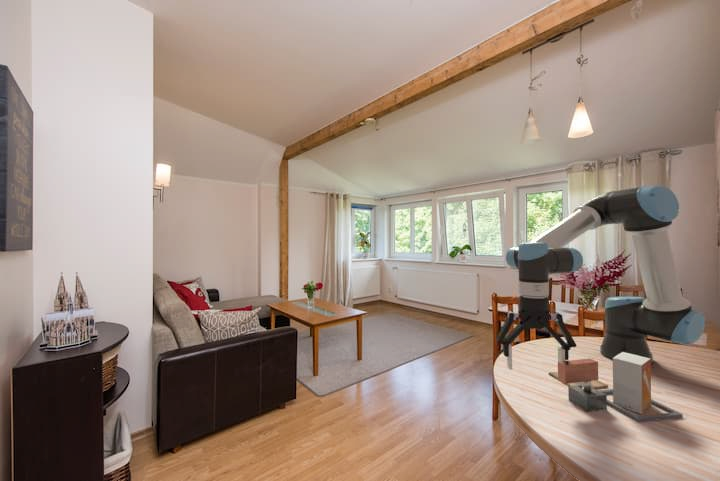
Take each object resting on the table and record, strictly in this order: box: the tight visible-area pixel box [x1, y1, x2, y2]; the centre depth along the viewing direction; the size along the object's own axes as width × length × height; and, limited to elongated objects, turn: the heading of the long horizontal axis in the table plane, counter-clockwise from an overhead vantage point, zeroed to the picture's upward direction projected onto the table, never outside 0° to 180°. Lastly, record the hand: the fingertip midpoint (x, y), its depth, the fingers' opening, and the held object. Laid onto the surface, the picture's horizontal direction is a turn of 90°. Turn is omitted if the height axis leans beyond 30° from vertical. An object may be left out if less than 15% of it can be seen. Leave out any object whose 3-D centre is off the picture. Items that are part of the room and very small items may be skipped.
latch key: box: [557, 358, 599, 391], centre depth 83 cm, size 2×10×8 cm, turn 100°
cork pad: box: [548, 371, 609, 389], centre depth 97 cm, size 11×11×1 cm
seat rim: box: [597, 388, 684, 423], centre depth 83 cm, size 13×14×1 cm
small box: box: [612, 352, 652, 415], centre depth 83 cm, size 8×6×13 cm
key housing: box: [567, 385, 608, 413], centre depth 83 cm, size 6×6×4 cm
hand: (535, 369), depth 87 cm, fingers open, 13 cm apart
